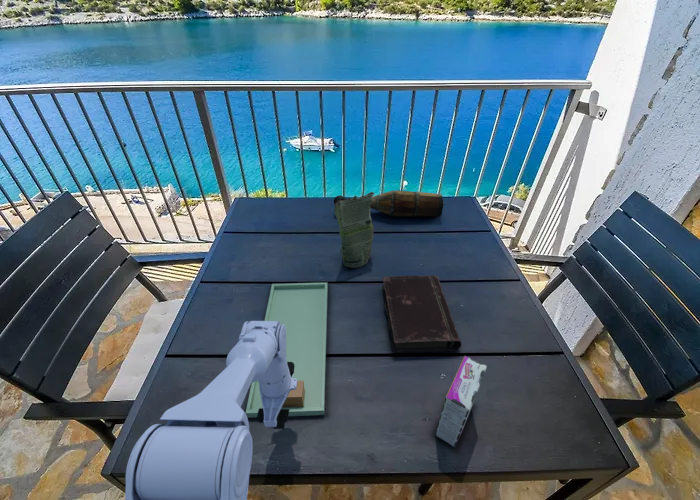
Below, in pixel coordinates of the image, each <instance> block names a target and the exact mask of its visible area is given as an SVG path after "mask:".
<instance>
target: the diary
mask: <svg viewBox="0 0 700 500" xmlns="http://www.w3.org/2000/svg"><path fill="white" fill-rule="evenodd" d="M382 280H383V284H382V293H383V300H384V304H383V307H384V310H385V312H386V317H387V325H388V331H389V336H390V337H389V338H390V343H391V348H392V353H393V354H412V353H435V352H436V353H437V352H457V351H459V350H460V349H461V347H462V342H461V338H460V336H459V333H458V331H457V328H456V325H455V322H454V320H453V317H452V313H451V310H450V308H449V304H448V302H447V299H446V296H445V294H444V291H443V288H442V285H441V282H440V279H439V276H438V275H433V274H432V275H395V276H394V275H393V276H385V277H384V276H383V277H382Z"/></svg>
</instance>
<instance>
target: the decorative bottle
mask: <svg viewBox="0 0 700 500" xmlns="http://www.w3.org/2000/svg"><path fill="white" fill-rule="evenodd" d="M352 198H353V197H347V198H346V197H345V196H344V195H337V196H335V197H334V198H333V204H332V206H333V205H334V204H336V203H338V202H339V201H342V200H351V199H352ZM359 198H360V197H357V199H359ZM444 205H446V204H445V202H444V196H443V193H433V192H424V191H410V190H409V191H408V190H398V189H397V190H394V189H393V190H392V189H391V191H385V192H383V193H379V194H377V195H373V199H372V203H371V205H370V209H371V210H372V209H373V210H375V211H378V212H380V213H382V214H385V215H387V216H390V217H416V218H417V217H422V218H423V217H424V218H425V217H441V216H442V215H443V210H444ZM334 206H335V205H334Z"/></svg>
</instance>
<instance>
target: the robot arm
mask: <svg viewBox="0 0 700 500" xmlns="http://www.w3.org/2000/svg"><path fill="white" fill-rule="evenodd" d="M286 358H287V356H286V328H285V325H284V324H283V325H281V323H280V322H279V321H265V320H250V321H249V320H247V321H244V322H243V325H242V328H241V332H240V334H239V337H238V341H237V343H236V344H235V345H234V346H233V347H232V349H230V351H229V353H227V356H226V360H225V365H226V367H225V368H224V369H223V370H222V371H221V372H220V373H219V374H218V375H217V376H216V377H215V378H214V379H213V380H212V381H211V382H210V383H209V384H207V385H206V386H205V387H204V388H203V389H202V391H200V392H199V393H198V394H196V395H194V396H192V397H190V398H188V399H187V400H184V401H182V402H180V403H178V404H176V405H174V406H172V407H170V408H168V409H167V410H165V411H164V413H163V414H162V415H161V416H160V418H159V420H160V421H166V424H165V423H155V424H152V425H151V426H148V428H147V429H146V430H144V432H143V434H141V436H139V438H138V439H137V441H136V443H135V444H134V446H133V448H132V450H131V453H130V456H129V458H128V461H127V465H126V469H125V492H124V493H125V494H124V499H125V500H248V495H249V494H248V493H249V485H250V484H249V483H250V475H251V468H252V462H253V451H254V449H253V448H254V445H253V444H254V443H253V436H252V434H251V432H250V423H249V419H248V418H247V416H246V411H244V409H243V408H242V406H243V403H244V401H245V398H246V396H247V393H248V391H249V389H250V388H251V384H252V383H253V382H256V381H258V383H259V390H260V395H261V400H262V406H263V408H259V410H258V415H257V417H256V418H257V421H258V423H259V424H263V425H264V427H265V428H272V429H274V430H283V429H285V427H286V423H287V422H288V421H289V417H290V416H289V409H281V407H282V406H283V404H284V402H285V400H286V398H287V396H288V394H289V392H290V391H291V390H295V389H296V388H297V379H296V378H291V377H292V375H293V374H294V368H295V365H294V363H293V362H287V360H286Z"/></svg>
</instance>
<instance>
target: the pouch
mask: <svg viewBox="0 0 700 500" xmlns="http://www.w3.org/2000/svg"><path fill="white" fill-rule="evenodd" d="M373 196H375V191H374V192H373V191H370V192H368V193H367V194H365V195H361V196H360V197H358V196H357V195H354V196H353V197H351V198H352V199H351V200H342V201H339V202H338V203H336V204H334V203H333V204H334V209H333V211H334V216H335V217H336V220H337V225H338V228H339V230H338V232H339V236H340V243H341V244H340V245H341V248H340V251H339V252H340V254H341V258H342V261H343V266H344V267H347V268H353V269H354V268H361V267H363V266H365V265H367V264H368V261H369V259H370V258H371V255H372V254H371V253H372V247H373V241H374V232H375V229H374V225H373V221H372V217H371V208H370V205H371V203H372V199H373ZM357 198H359V199H357Z"/></svg>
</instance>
